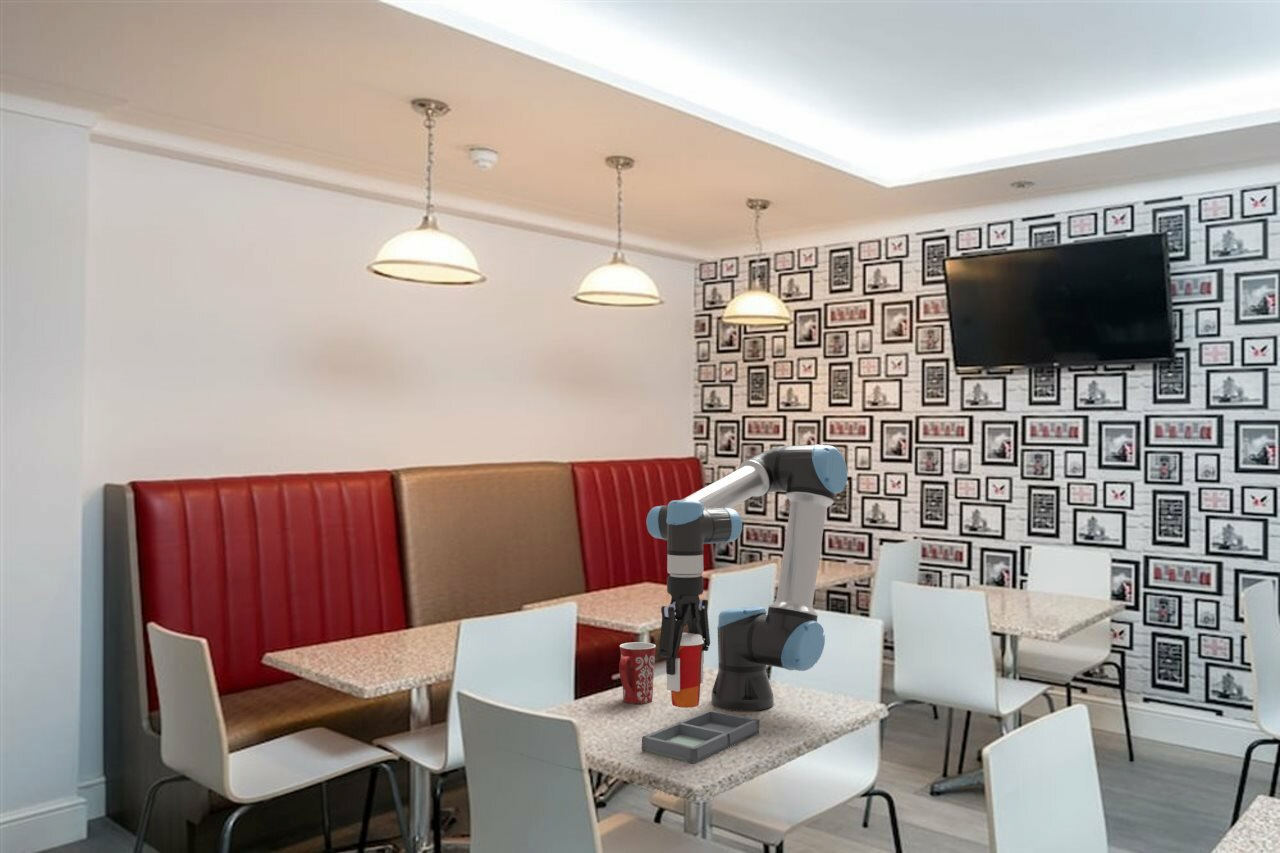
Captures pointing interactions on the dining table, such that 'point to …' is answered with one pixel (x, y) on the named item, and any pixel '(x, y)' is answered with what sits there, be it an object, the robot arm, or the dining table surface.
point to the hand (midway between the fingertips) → (685, 686)
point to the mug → (637, 671)
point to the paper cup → (689, 671)
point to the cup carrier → (700, 736)
